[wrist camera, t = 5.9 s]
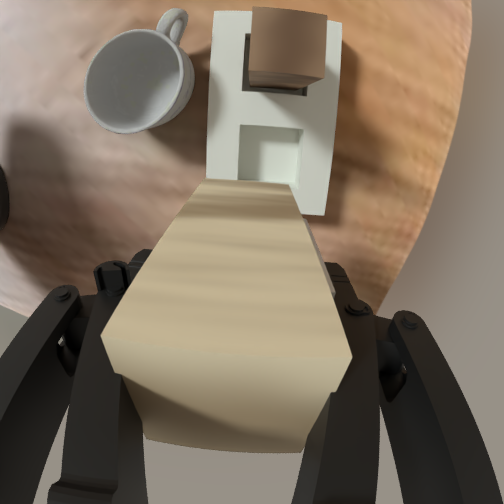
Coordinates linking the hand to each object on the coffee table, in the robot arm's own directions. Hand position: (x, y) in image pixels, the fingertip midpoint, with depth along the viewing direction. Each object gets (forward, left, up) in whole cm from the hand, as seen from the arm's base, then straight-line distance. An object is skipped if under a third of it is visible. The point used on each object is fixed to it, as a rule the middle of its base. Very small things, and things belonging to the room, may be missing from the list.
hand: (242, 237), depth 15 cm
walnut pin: (+2, +12, -20) cm, 23 cm away
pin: (0, 0, -3) cm, 3 cm away
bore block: (+2, +7, -20) cm, 21 cm away
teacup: (-10, +11, -20) cm, 25 cm away
